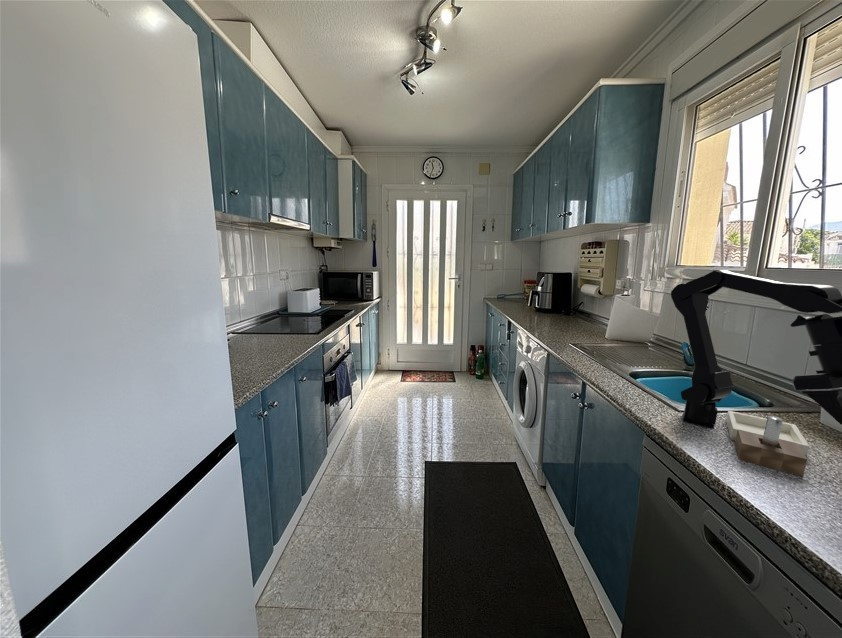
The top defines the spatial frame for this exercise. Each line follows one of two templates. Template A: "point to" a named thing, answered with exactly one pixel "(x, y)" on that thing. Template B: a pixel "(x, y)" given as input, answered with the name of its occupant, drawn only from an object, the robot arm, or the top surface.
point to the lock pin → (772, 431)
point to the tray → (763, 428)
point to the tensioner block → (770, 453)
